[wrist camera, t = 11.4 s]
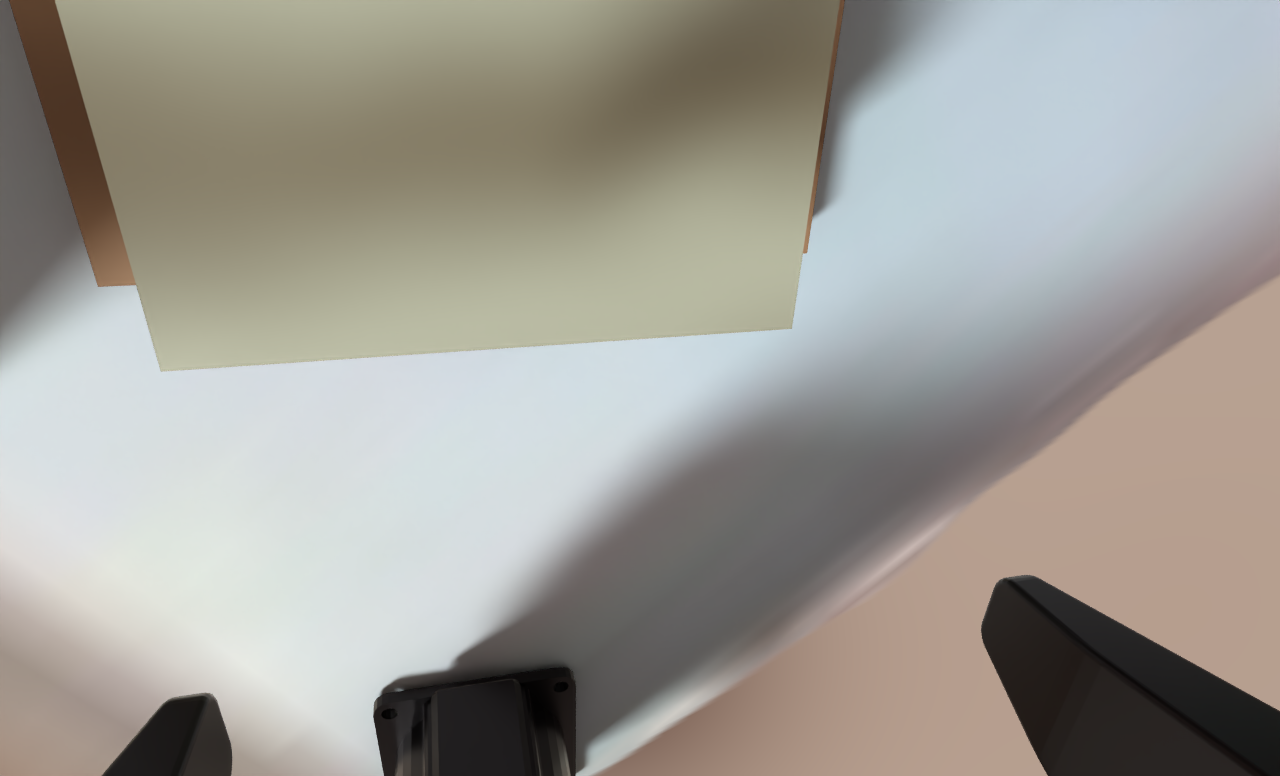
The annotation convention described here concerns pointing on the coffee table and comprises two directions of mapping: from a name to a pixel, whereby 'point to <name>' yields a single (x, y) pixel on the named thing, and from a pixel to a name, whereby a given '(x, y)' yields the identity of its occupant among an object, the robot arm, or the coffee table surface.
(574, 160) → the port plate
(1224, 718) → the robot arm
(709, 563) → the coffee table surface
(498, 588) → the coffee table surface
